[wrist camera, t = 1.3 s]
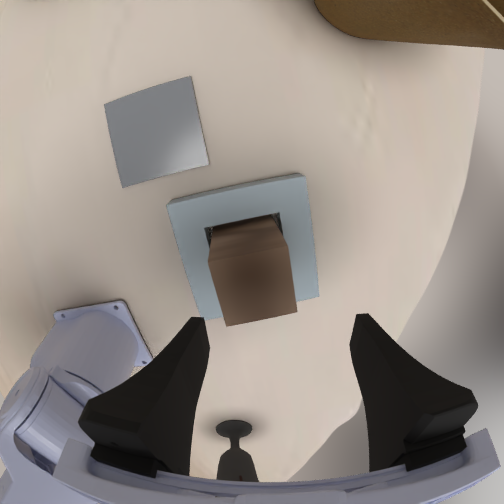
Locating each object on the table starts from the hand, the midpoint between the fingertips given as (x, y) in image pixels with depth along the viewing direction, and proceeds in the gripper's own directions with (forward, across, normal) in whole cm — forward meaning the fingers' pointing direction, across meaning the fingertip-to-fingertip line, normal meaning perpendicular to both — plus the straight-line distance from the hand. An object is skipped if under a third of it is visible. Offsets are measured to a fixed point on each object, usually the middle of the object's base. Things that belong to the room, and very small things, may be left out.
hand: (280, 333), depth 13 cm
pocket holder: (+11, +2, 0) cm, 11 cm away
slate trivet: (+10, +9, -9) cm, 16 cm away
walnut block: (+11, +2, 0) cm, 11 cm away
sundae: (+8, +6, +27) cm, 29 cm away
